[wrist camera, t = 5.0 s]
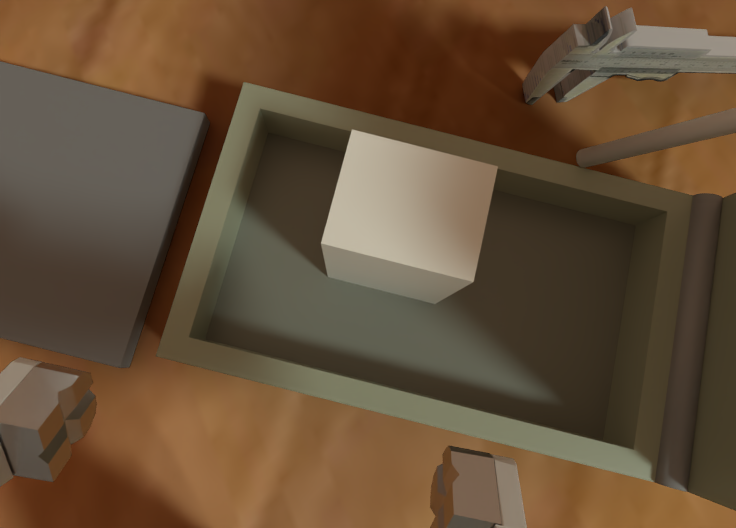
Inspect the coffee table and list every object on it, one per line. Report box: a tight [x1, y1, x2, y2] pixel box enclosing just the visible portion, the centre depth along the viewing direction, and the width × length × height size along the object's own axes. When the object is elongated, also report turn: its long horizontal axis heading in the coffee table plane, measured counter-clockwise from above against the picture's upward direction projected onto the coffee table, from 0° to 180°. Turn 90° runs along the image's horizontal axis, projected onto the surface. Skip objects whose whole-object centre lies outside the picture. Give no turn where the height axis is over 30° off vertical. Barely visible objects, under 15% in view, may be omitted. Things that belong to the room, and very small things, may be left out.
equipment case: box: [156, 82, 736, 511], centre depth 14 cm, size 13×22×21 cm, turn 76°
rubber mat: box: [0, 61, 210, 368], centre depth 23 cm, size 12×10×1 cm
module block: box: [321, 129, 498, 304], centre depth 20 cm, size 4×5×7 cm
